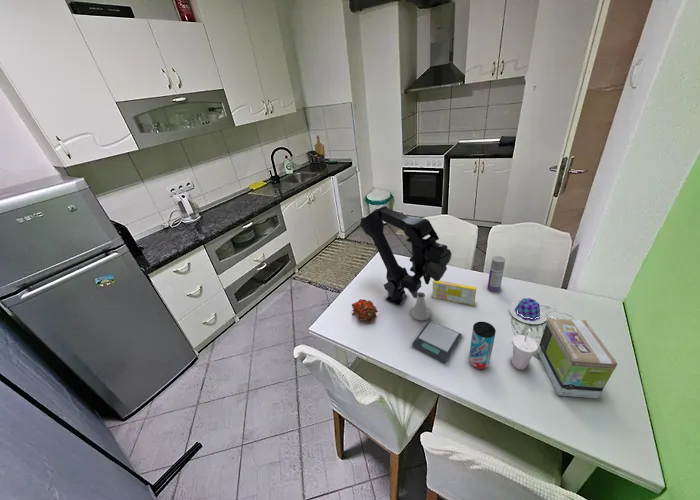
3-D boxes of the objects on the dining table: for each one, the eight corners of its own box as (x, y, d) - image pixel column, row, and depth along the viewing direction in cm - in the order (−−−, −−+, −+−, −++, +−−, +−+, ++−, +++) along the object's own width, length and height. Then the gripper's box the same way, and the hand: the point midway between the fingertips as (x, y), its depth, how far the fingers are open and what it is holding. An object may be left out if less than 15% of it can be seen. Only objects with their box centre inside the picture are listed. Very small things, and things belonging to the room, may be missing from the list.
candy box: (474, 302, 110) (476, 286, 106) (474, 306, 108) (476, 290, 104) (433, 294, 117) (433, 278, 113) (432, 297, 116) (432, 282, 111)
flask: (430, 321, 105) (431, 301, 99) (411, 320, 106) (410, 301, 101) (429, 308, 111) (430, 288, 105) (411, 307, 112) (410, 288, 107)
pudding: (526, 298, 108) (529, 288, 105) (555, 319, 98) (558, 308, 95) (501, 308, 106) (503, 297, 103) (527, 330, 96) (530, 319, 93)
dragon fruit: (377, 327, 107) (355, 318, 116) (385, 307, 109) (363, 299, 118) (365, 322, 102) (343, 312, 110) (374, 300, 104) (351, 292, 112)
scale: (412, 347, 96) (412, 342, 95) (429, 323, 104) (429, 318, 103) (445, 364, 89) (446, 359, 87) (461, 337, 97) (462, 332, 95)
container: (488, 284, 118) (493, 254, 110) (501, 287, 115) (506, 257, 108) (486, 290, 115) (490, 260, 107) (498, 293, 112) (504, 263, 105)
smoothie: (529, 357, 87) (538, 326, 80) (533, 375, 82) (544, 343, 75) (506, 353, 89) (513, 322, 82) (508, 370, 84) (517, 339, 77)
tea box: (599, 399, 74) (620, 364, 66) (557, 396, 76) (572, 361, 68) (571, 352, 86) (586, 318, 79) (535, 350, 89) (546, 317, 81)
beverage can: (466, 354, 91) (470, 322, 83) (484, 353, 90) (490, 320, 82) (472, 370, 86) (477, 337, 78) (492, 369, 85) (499, 336, 77)
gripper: (429, 275, 84) (430, 313, 91) (454, 247, 95) (453, 283, 103) (398, 266, 91) (400, 302, 98) (424, 241, 102) (425, 275, 110)
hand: (421, 290), depth 102 cm, fingers open, 9 cm apart
